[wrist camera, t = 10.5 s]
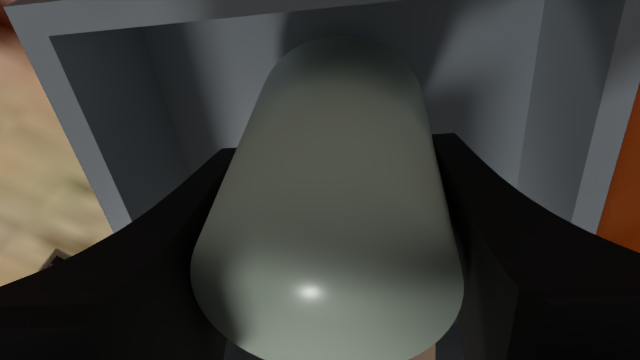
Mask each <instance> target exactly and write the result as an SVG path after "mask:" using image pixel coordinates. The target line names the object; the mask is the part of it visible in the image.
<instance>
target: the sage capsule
mask: <svg viewBox="0 0 640 360" xmlns="http://www.w3.org/2000/svg"><path fill="white" fill-rule="evenodd" d="M190 278H191V285H192V289H193V293H194V296H195V298H196V300H197V302H198V305H199V307H200V308H201V310H202V311H203V313H204V314H205V316H206V317H207V319H208V320H209V321H210V322H211V323H212V325H213V326H214V327H215V328H216V329H217V330H218V331H219V332H221V333H222V334H223V335H224V336H225V337H226V338H228V339H229V340H230V341H232V342H233V343H234V344H236V345H237V346H239V347H241V348H242V349H244V350H246V351H247V352H249V353H251V354H253V355H255V356H257V357H259V358H262V359H264V360H409V359H411V358H413V357H415V356H417V355H419V354H420V353H422V352H424V351H425V350H427V349H428V348H430V347H431V346H432V345H434V344H435V343H436V342H437V341H438V340H439V339H441V338H442V336H443V335H444V334H445V333H446V332H447V331H448V330H449V329H450V327H451V325H452V324H453V322H454V321H455V319H456V317H457V315H458V313H459V310H460V308H461V304H462V300H463V295H464V280H463V274H462V269H461V264H460V260H459V255H458V250H457V246H456V241H455V237H454V232H453V228H452V223H451V219H450V214H449V210H448V205H447V201H446V196H445V192H444V187H443V183H442V178H441V174H440V169H439V165H438V160H437V156H436V152H435V148H434V143H433V139H432V133H431V129H430V124H429V120H428V115H427V111H426V106H425V102H424V97H423V93H422V90H421V87H420V84H419V82H418V80H417V78H416V76H415V74H414V73H413V72H412V70H411V69H410V67H409V66H408V65H407V64H406V63H405V62H404V61H403V60H402V59H401V58H400V57H399V56H398V55H397V54H395V53H394V52H393V51H391V50H390V49H388V48H386V47H385V46H383V45H381V44H379V43H376V42H374V41H372V40H368V39H365V38H361V37H355V36H348V35H334V36H327V37H321V38H317V39H314V40H311V41H308V42H306V43H303V44H301V45H299V46H298V47H296V48H294V49H293V50H291V51H290V52H289V53H287V54H286V55H285V56H283V57H282V58H281V59H280V61H279V62H278V63H277V64H276V65H275V66H274V68H273V69H272V70H271V72H270V73H269V75H268V77H267V79H266V81H265V83H264V85H263V88H262V90H261V92H260V95H259V97H258V99H257V102H256V104H255V107H254V109H253V111H252V114H251V116H250V118H249V121H248V123H247V125H246V128H245V130H244V132H243V135H242V137H241V139H240V142H239V144H238V147H237V149H236V151H235V154H234V156H233V158H232V161H231V163H230V165H229V168H228V170H227V172H226V175H225V177H224V179H223V182H222V184H221V186H220V189H219V191H218V194H217V196H216V198H215V201H214V203H213V205H212V208H211V210H210V212H209V215H208V217H207V219H206V222H205V224H204V226H203V229H202V231H201V234H200V236H199V238H198V241H197V243H196V245H195V248H194V251H193V254H192V258H191V266H190Z"/></svg>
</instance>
